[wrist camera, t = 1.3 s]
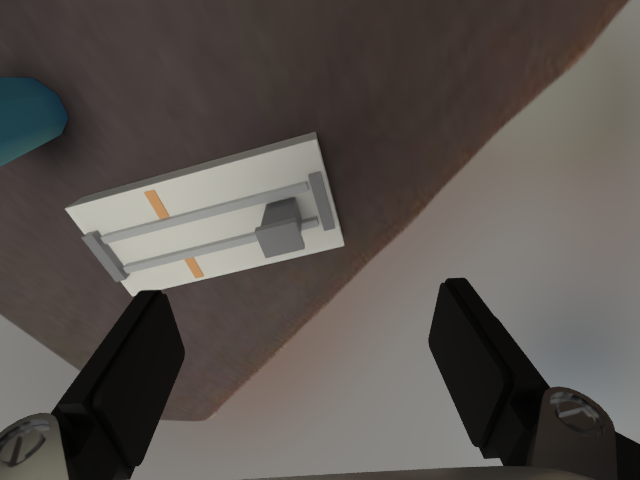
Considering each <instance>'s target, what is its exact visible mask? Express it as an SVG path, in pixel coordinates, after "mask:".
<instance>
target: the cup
mask: <svg viewBox="0 0 640 480" xmlns="http://www.w3.org/2000/svg"><path fill="white" fill-rule="evenodd" d="M68 118H69V117H68V115H67V113H66V111H65V109H64V107H63V105H62V103H61V101H60V99H59V97H58V95H57V94H56V93H55V92H53V91H52V90H50V89H49V88H47V87H46V86H44V85H43V84H41V83H40V82H38V81H37V80H35V79H34V78H13V77H0V167H1V166H3V165H5V164H7V163H8V162H10V161H12V160H14V159H16V158H18V157H20V156H22V155H24V154H26V153H27V152H29V151H31V150H33V149H35V148H37V147H39V146H41V145H43V144H45V143H47V142H48V141H50V140H52V139H54V138H56V137H58V136H60V135H62V132H63V130H64V127H65V125H66V123H67V120H68Z"/></svg>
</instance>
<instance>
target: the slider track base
mask: <svg viewBox="0 0 640 480" xmlns="http://www.w3.org/2000/svg"><path fill="white" fill-rule="evenodd" d="M292 197H295V198H296V201H297V205H298V208H299V211H300V214H301V217H302V226H301V235H302V238H303V241H304V243H305V249H303V250H299V251H295V252H290V253H286V254H282V255H278V256H274V257H270V258H265V256H264V253H263V251H262V249H261V246H260V244H259V242H258V239H257V237H256V235H255V233H254V232H255V228H256V227H260V226H261V222H262V218H263V215H264V211H265V207H266V204H269V203H273V202H277V201H281V200H285V199H288V198H292ZM65 210H66V211H67V212H68V214H69V215H70V216H71V218H72V219H73V220H74V221H75V223H76V224H77V225H78V227H79V228H80V229H81V231H82V232H83V233H84V234H85V235H84V236H83V237H82V239H83V240H84V242H85V243H86V244H87V246H88V247H89V248H90V249H91V251H92V252H93V253H94V254H95V256H96V257H97V258H98V260H99V261H100V262H101V263H102V265H103V266H104V267H105V269H106V270H107V271H108V272H109V274H110V275H111V276H112V278H113V279H114V280H115V281H116V282H118V281H121V283H122V284H123V285H124V286H125V288H126V289H127V290H128V292H129V293H130V294H131V296H136V295H137V293H138V292H139V291H141V290H161V289H165V288H169V287H174V286H178V285H182V284H186V283H190V282H195V281H199V280H203V279H207V278H212V277H216V276H220V275H224V274H228V273H233V272H237V271H241V270H245V269H249V268H254V267H258V266H262V265H266V264H270V263H275V262H279V261H283V260H287V259H291V258H296V257H300V256H304V255H308V254H313V253H317V252H321V251H325V250H329V249H334V248H338V247H342V246H344V241H343V235H342V231H341V227H340V223H339V219H338V215H337V212H336V208H335V204H334V200H333V196H332V192H331V188H330V185H329V181H328V177H327V173H326V169H325V165H324V162H323V158H322V154H321V150H320V146H319V142H318V139H317V135H316V132H312V133H309V134H305V135H302V136H298V137H294V138H291V139H287V140H284V141H280V142H277V143H273V144H269V145H266V146H262V147H259V148H255V149H251V150H248V151H244V152H241V153H237V154H234V155H230V156H226V157H223V158H219V159H216V160H212V161H209V162H205V163H201V164H198V165H194V166H191V167H187V168H183V169H180V170H176V171H173V172H169V173H166V174H162V175H158V176H155V177H151V178H148V179H144V180H141V181H137V182H133V183H130V184H126V185H123V186H119V187H115V188H112V189H108V190H105V191H101V192H98V193H94V194H90V195H87V196H83V197H82V198H80V199H79V200H77V201H76V202H74V203H72V204H71V205H69V206H68V207H66V208H65Z"/></svg>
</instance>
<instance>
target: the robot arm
mask: <svg viewBox="0 0 640 480" xmlns="http://www.w3.org/2000/svg"><path fill="white" fill-rule="evenodd" d="M429 347H430V350H431V352H432V354H433V357H434V359H435V361H436V363H437V366H438V368H439V370H440V372H441V375H442V377H443V379H444V381H445V384H446V386H447V388H448V390H449V393H450V395H451V397H452V399H453V402H454V403H455V406H456V408H457V411H458V413H459V415H460V418H461V420H462V422H463V424H464V427H465V429H466V431H467V433H468V436H469V438H470V440H471V442H472V444H473V445H474V446H475V447H479V448H480V451H481V453H482V455H483V457H484V459H488V458H500V460H501V462H502V464H503V466H490V467H462V468H439V469H438V468H437V469H418V470H400V471H381V472H362V473H345V474H327V475H310V476H293V477H277V478H261V479H244V480H640V444H638V443H636V442H635V441H633V440H631V439H629V438H626V437H625V436H623V435H621V434H619V433H617V432H616V431H615V428H614V425H613V422H612V420H611V419H610V417H609V415H608V414H607V413H606V412H605V411H604V410H603V409H602V407H601V406H600V405H599V404H597V403H596V402H594V401H593V400H592V399H591V398H589V397H587V396H585V395H584V394H582V393H580V392H578V391H575V390H572V389H570V388H565V387H552V388H550V387H549V385H548V384H547V383H546V381H545V380H544V379H543V377H542V376H541V375H540V373H539V372H538V371H537V369H536V368H535V367H534V366H533V364H532V363H531V362H530V360H529V359H528V358H527V356H526V355H525V354H524V352H523V351H522V350H521V348H520V347H519V346H518V345H517V343H516V342H515V341H514V339H513V338H512V337H511V335H510V334H509V333H508V331H507V330H506V329H505V328H504V326H503V325H502V323H501V322H500V321H499V320H498V319H497V318H496V317H495V316H494V315H493V314H492V312H491V311H490V310H489V308H488V307H487V306H486V304H485V303H484V302H483V300H482V299H481V298H480V296H479V295H478V294H477V292H476V291H475V290H474V288H473V287H472V286H471V284H470V283H469V282H468V281H467V279H465V278H448V279H447V280H446V281H445V283H441V285H440V288H439V293H438V297H437V302H436V307H435V312H434V316H433V320H432V325H431V329H430V334H429ZM184 356H185V350H184V346H183V343H182V340H181V337H180V334H179V331H178V328H177V325H176V322H175V318H174V315H173V312H172V309H171V306H170V303H169V300H168V297H167V295H166V294H162V292H161V291H160V290H141V291H139V292H138V293H137V295H136V296H135V297H134V299H133V300H132V301H131V303H130V304H129V306H128V307H127V308H126V310H125V311H124V313H123V314H122V315H121V317H120V318H119V319H118V321H117V322H116V324H115V325H114V326H113V328H112V329H111V330H110V332H109V333H108V335H107V336H106V337H105V339H104V340H103V342H102V343H101V344H100V346H99V347H98V348H97V350H96V351H95V353H94V354H93V355H92V357H91V358H90V359H89V361H88V362H87V364H86V365H85V366H84V368H83V369H82V371H81V372H80V373H79V375H78V376H77V378H76V379H75V380H74V382H73V383H72V384H71V386H70V387H69V388H68V390H67V392H66V393H65V394H64V395H63V397H62V398H61V400H60V401H59V402H58V404H57V405H56V407H55V408H54V410H53V411H52V412H51V414H49V413H38V414H34V415H30V416H27V417H25V418H23V419H20V420H18V421H16V422H15V423H13V424H12V425H10V426H8V427H7V428H6V429H4V430H3V431H2V432H1V433H0V480H129V479H130V478H131V476H132V473H133V471H134V469H135V466H139V465H140V464H141V463H142V461H143V459H144V457H145V454H146V452H147V449H148V447H149V444H150V442H151V439H152V437H153V434H154V432H155V430H156V427H157V425H158V422H159V420H160V417H161V415H162V412H163V410H164V407H165V405H166V402H167V400H168V397H169V395H170V393H171V390H172V388H173V385H174V383H175V380H176V378H177V375H178V373H179V370H180V368H181V365H182V363H183V360H184Z"/></svg>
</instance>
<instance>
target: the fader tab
mask: <svg viewBox="0 0 640 480" xmlns="http://www.w3.org/2000/svg"><path fill="white" fill-rule="evenodd" d="M301 226H302V217H301V214H300V211H299V208H298V205H297V201H296V198H295V197H292V198H288V199H285V200H281V201H277V202H273V203H269V204H266V207H265V211H264V215H263V218H262V222H261V226H260V227H256V228H255V232H254V233H255V235H256V237H257V239H258V242H259V244H260V246H261V249H262V251H263V253H264V256H265V258H270V257H274V256H278V255H282V254H286V253H290V252H295V251H299V250H303V249H305V243H304V241H303V238H302V235H301Z"/></svg>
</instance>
